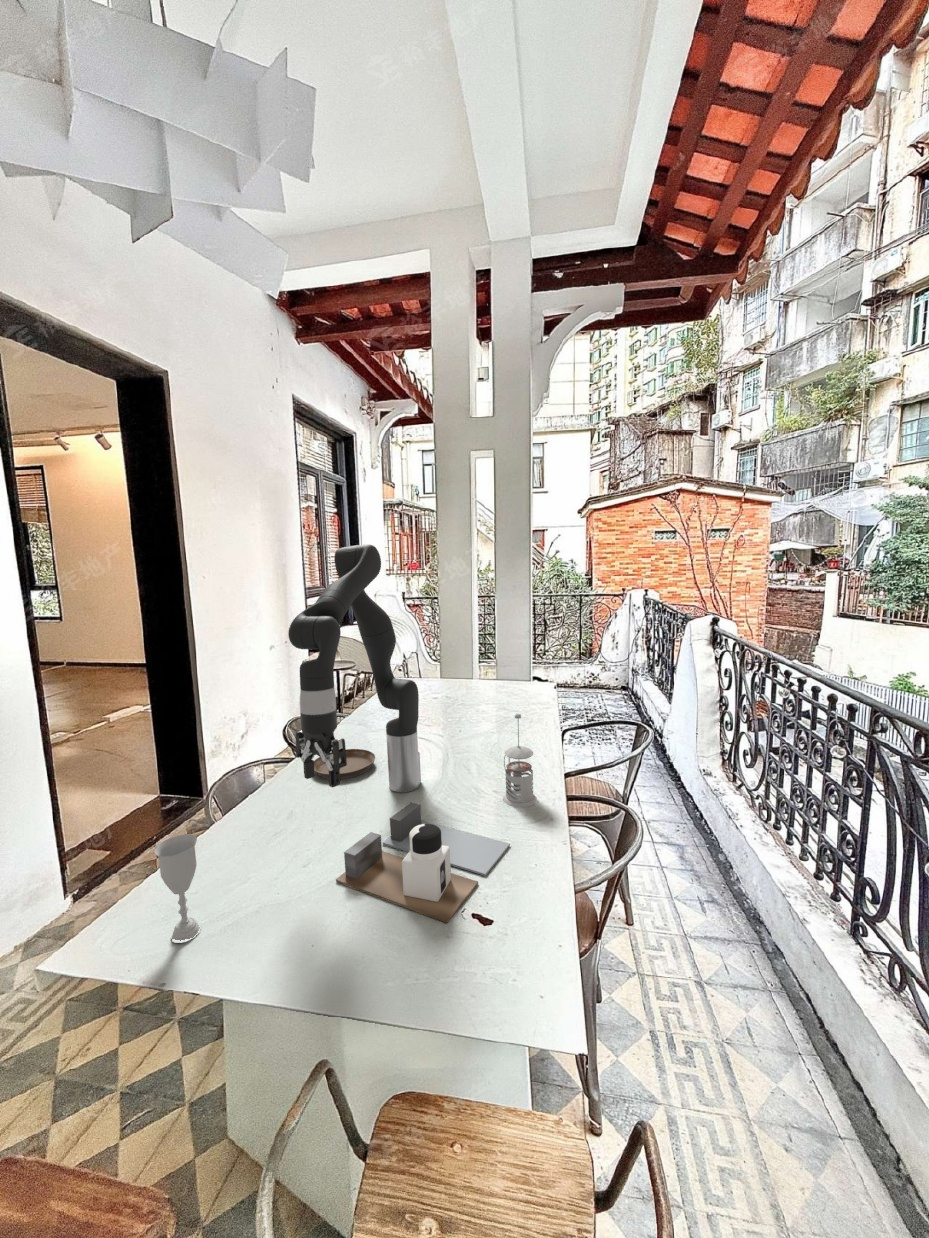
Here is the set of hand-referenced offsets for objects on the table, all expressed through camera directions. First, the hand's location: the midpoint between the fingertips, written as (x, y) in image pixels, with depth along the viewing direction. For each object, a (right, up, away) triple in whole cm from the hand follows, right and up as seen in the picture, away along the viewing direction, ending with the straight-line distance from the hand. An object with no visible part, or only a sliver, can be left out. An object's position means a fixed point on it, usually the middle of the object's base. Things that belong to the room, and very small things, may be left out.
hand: (321, 781), depth 112 cm
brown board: (+19, -21, -2) cm, 28 cm away
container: (+23, -21, -5) cm, 32 cm away
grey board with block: (+27, -19, +12) cm, 35 cm away
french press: (+46, -16, +35) cm, 60 cm away
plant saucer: (-9, -15, +59) cm, 61 cm away
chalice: (-22, -24, -15) cm, 36 cm away
